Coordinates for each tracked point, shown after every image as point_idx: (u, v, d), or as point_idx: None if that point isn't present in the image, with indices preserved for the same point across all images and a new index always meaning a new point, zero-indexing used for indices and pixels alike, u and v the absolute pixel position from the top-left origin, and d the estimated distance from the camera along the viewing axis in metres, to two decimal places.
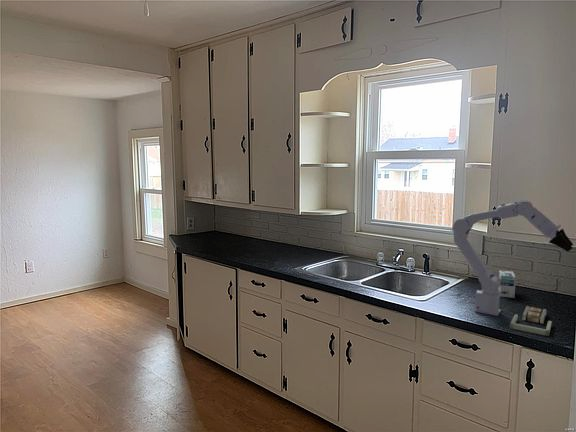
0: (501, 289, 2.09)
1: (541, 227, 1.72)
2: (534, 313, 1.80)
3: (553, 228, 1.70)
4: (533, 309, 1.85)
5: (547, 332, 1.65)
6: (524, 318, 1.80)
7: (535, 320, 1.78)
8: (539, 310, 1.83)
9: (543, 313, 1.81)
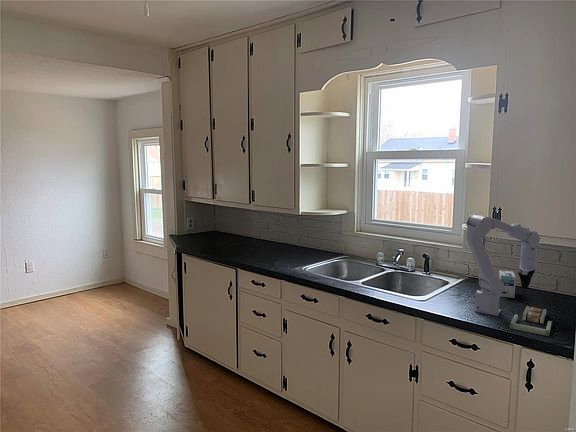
0: None
1: (524, 259, 1.88)
2: (534, 313, 1.80)
3: (530, 267, 1.87)
4: (533, 309, 1.85)
5: (547, 332, 1.65)
6: (524, 318, 1.80)
7: (535, 320, 1.78)
8: (539, 310, 1.83)
9: (543, 313, 1.81)
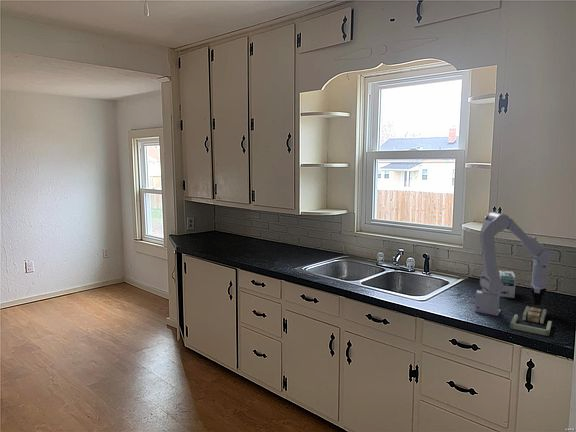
0: None
1: (536, 277, 1.86)
2: (534, 313, 1.80)
3: (543, 285, 1.86)
4: (533, 309, 1.85)
5: (547, 332, 1.65)
6: (524, 318, 1.80)
7: (535, 320, 1.78)
8: (539, 310, 1.83)
9: (543, 313, 1.81)
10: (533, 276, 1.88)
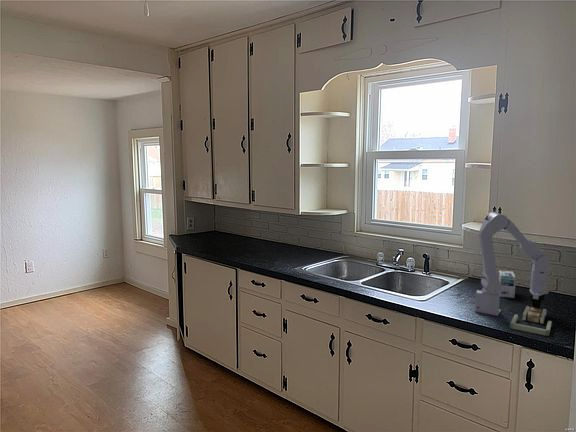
0: None
1: (535, 283, 1.84)
2: (534, 313, 1.80)
3: (541, 291, 1.83)
4: (533, 309, 1.84)
5: (547, 332, 1.65)
6: (524, 318, 1.80)
7: (535, 320, 1.78)
8: (539, 310, 1.83)
9: (543, 313, 1.81)
10: (532, 282, 1.85)
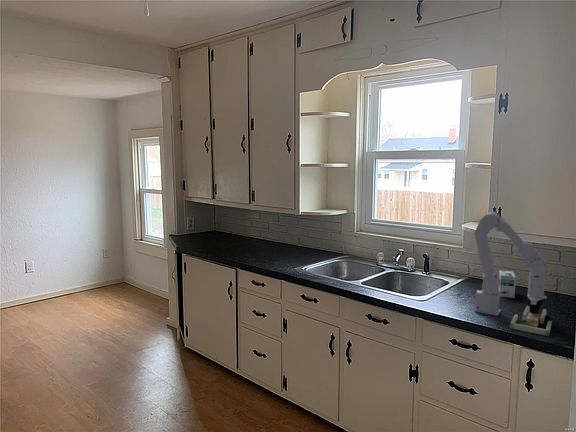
0: (501, 289, 2.09)
1: (533, 288, 1.77)
2: (533, 317, 1.75)
3: (539, 296, 1.77)
4: (531, 314, 1.78)
5: (547, 332, 1.65)
6: (524, 318, 1.80)
7: (534, 325, 1.73)
8: (537, 315, 1.77)
9: (543, 313, 1.81)
10: (529, 286, 1.79)
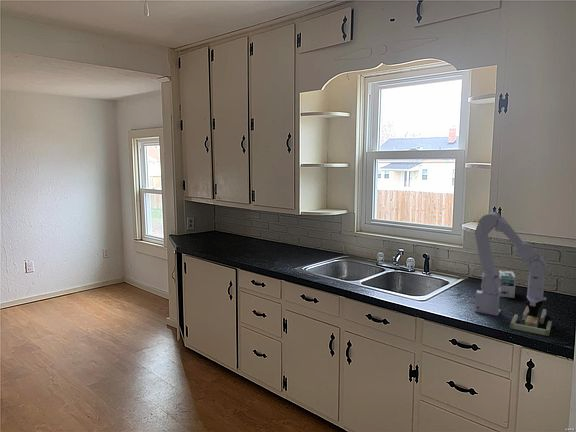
0: (501, 289, 2.09)
1: (532, 289, 1.76)
2: (531, 320, 1.72)
3: (539, 297, 1.75)
4: (530, 318, 1.75)
5: (547, 332, 1.65)
6: (524, 318, 1.80)
7: None
8: (536, 319, 1.74)
9: (543, 313, 1.81)
10: (529, 288, 1.77)
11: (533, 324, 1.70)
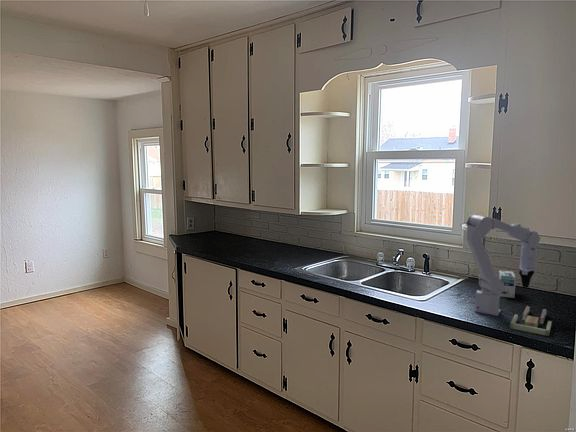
0: None
1: (524, 259, 1.88)
2: (531, 320, 1.72)
3: (530, 267, 1.87)
4: (530, 318, 1.75)
5: (547, 332, 1.65)
6: (524, 318, 1.80)
7: None
8: (536, 319, 1.74)
9: (543, 313, 1.81)
10: (521, 258, 1.89)
11: (533, 324, 1.70)
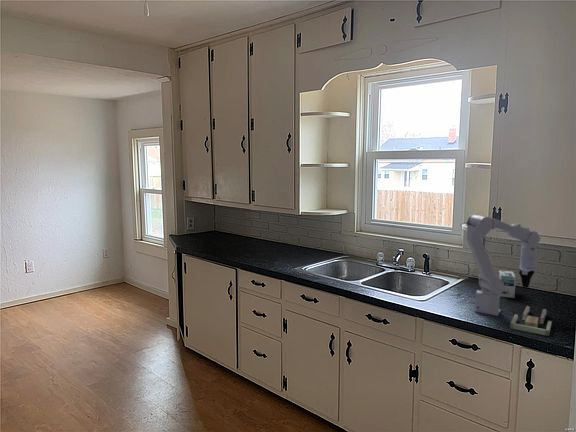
0: None
1: (524, 259, 1.88)
2: (531, 320, 1.72)
3: (530, 267, 1.87)
4: (530, 318, 1.75)
5: (547, 332, 1.65)
6: (524, 318, 1.80)
7: None
8: (536, 319, 1.74)
9: (543, 313, 1.81)
10: (521, 258, 1.89)
11: (533, 324, 1.70)
